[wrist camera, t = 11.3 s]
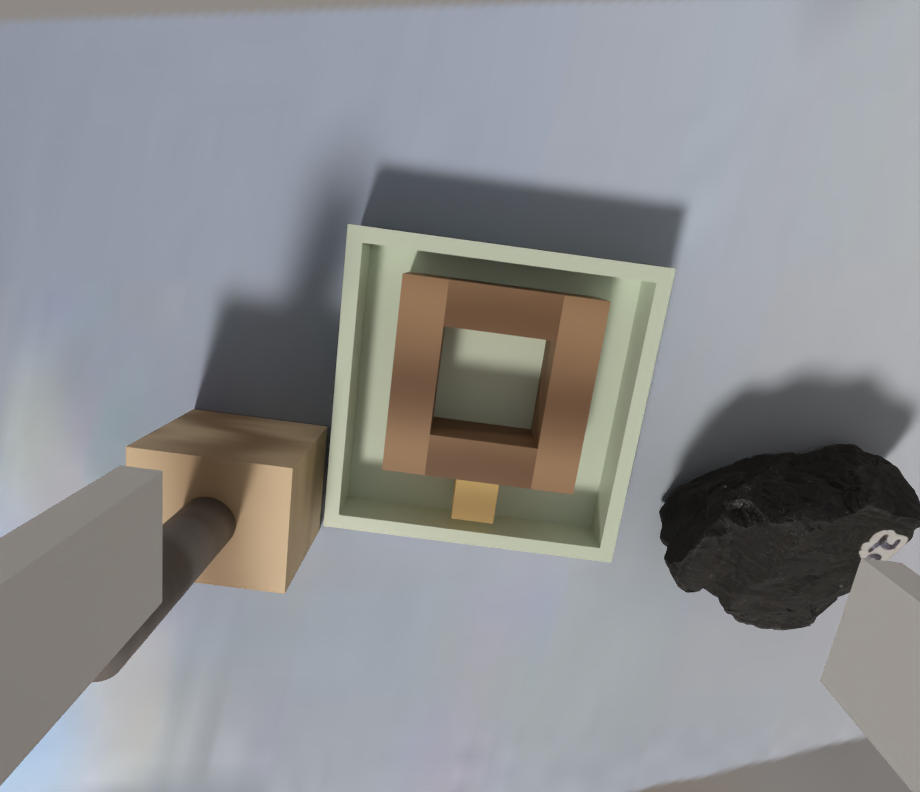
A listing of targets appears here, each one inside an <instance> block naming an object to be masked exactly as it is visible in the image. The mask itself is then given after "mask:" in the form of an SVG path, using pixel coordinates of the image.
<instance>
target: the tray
mask: <svg viewBox="0 0 920 792" xmlns="http://www.w3.org/2000/svg"><path fill="white" fill-rule="evenodd" d="M675 270H676V269H674V268H667V267H659V266H652V265H645V264H637V263H630V262H623V261H615V260H608V259H601V258H593V257H586V256H579V255H571V254H564V253H557V252H549V251H542V250H535V249H528V248H520V247H513V246H506V245H498V244H491V243H484V242H476V241H469V240H462V239H454V238H447V237H440V236H432V235H425V234H418V233H410V232H403V231H396V230H389V229H381V228H374V227H367V226H359V225H352V224H348V226H347V239H346V251H345V264H344V276H343V289H342V301H341V314H340V326H339V339H338V351H337V363H336V376H335V388H334V401H333V413H332V426H331V438H330V451H329V463H328V476H327V488H326V501H325V513H324V526H328V527H336V528H343V529H351V530H359V531H367V532H375V533H383V534H391V535H398V536H406V537H414V538H422V539H430V540H438V541H445V542H453V543H461V544H469V545H477V546H485V547H492V548H500V549H508V550H516V551H524V552H532V553H540V554H547V555H555V556H563V557H571V558H579V559H587V560H594V561H602V562H610V563H611V562H612V557H613V553H614V548H615V544H616V539H617V534H618V530H619V525H620V521H621V516H622V512H623V507H624V503H625V498H626V494H627V489H628V484H629V480H630V475H631V471H632V466H633V462H634V457H635V453H636V448H637V443H638V439H639V434H640V430H641V425H642V421H643V416H644V412H645V407H646V402H647V398H648V393H649V389H650V384H651V380H652V375H653V371H654V366H655V361H656V357H657V352H658V348H659V343H660V339H661V334H662V330H663V325H664V320H665V316H666V311H667V307H668V302H669V298H670V293H671V289H672V284H673V280H674V275H675ZM406 272H416V273H424V274H431V275H438V276H446V277H453V278H460V279H468V280H475V281H483V282H490V283H497V284H505V285H512V286H519V287H527V288H534V289H542V290H549V291H556V292H564V293H571V294H578V295H586V296H593V297H598V298H601V299H604V300H607V301H610V302H611V303H610V308H609V313H608V319H607V324H606V329H605V334H604V339H603V344H602V349H601V354H600V360H599V365H598V370H597V375H596V380H595V385H594V390H593V395H592V401H591V406H590V411H589V416H588V421H587V426H586V431H585V436H584V442H583V447H582V452H581V457H580V462H579V467H578V472H577V478H576V483H575V488H574V493H573V494H565V493H558V492H550V491H542V490H535V489H527V488H519V487H511V486H504V485H499V489H498V495H497V501H496V507H495V514H494V520H493V524H491V523H483V522H475V521H467V520H459V519H452V518H451V513H452V498H453V488H454V481H455V479H450V478H442V477H434V476H426V475H419V474H411V473H403V472H396V471H388V470H382V465H383V455H384V446H385V436H386V427H387V417H388V408H389V398H390V389H391V379H392V369H393V360H394V350H395V341H396V331H397V322H398V312H399V303H400V293H401V284H402V274H403V273H406ZM545 344H546V340H543V339H535V338H528V337H520V336H513V335H505V334H498V333H491V332H483V331H476V330H468V329H461V328H453V327H446V326H445V331H444V339H443V347H442V355H441V363H440V370H439V378H438V386H437V394H436V402H435V410H434V417H441V418H448V419H456V420H464V421H471V422H479V423H487V424H494V425H502V426H509V427H517V428H525V429H531V426H532V420H533V414H534V408H535V402H536V396H537V391H538V385H539V379H540V373H541V367H542V361H543V355H544V349H545Z"/></svg>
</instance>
